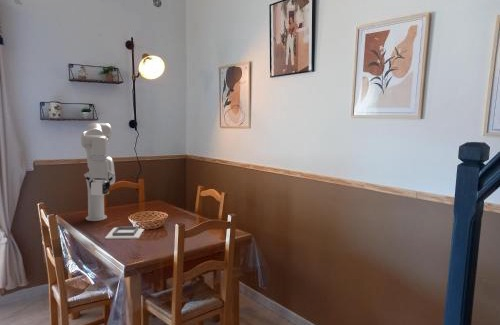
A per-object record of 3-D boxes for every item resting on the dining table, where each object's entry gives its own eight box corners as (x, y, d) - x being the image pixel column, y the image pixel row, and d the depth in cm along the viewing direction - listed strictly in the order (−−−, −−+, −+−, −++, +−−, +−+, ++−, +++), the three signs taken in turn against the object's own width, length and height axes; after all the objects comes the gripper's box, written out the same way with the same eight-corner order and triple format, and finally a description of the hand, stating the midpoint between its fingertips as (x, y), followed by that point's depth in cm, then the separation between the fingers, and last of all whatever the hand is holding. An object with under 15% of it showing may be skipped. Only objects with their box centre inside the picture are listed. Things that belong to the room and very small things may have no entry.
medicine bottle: (102, 195, 192) (102, 174, 191) (90, 194, 193) (90, 173, 192) (109, 193, 199) (109, 173, 198) (97, 193, 200) (97, 172, 199)
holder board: (114, 228, 205) (113, 225, 205) (144, 228, 207) (144, 224, 207) (104, 238, 187) (104, 234, 187) (138, 238, 190) (138, 234, 189)
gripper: (80, 158, 189) (81, 189, 191) (113, 159, 191) (113, 190, 193) (85, 157, 196) (86, 187, 198) (116, 157, 198) (117, 187, 200)
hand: (99, 188), depth 196 cm, fingers closed on medicine bottle, 8 cm apart
